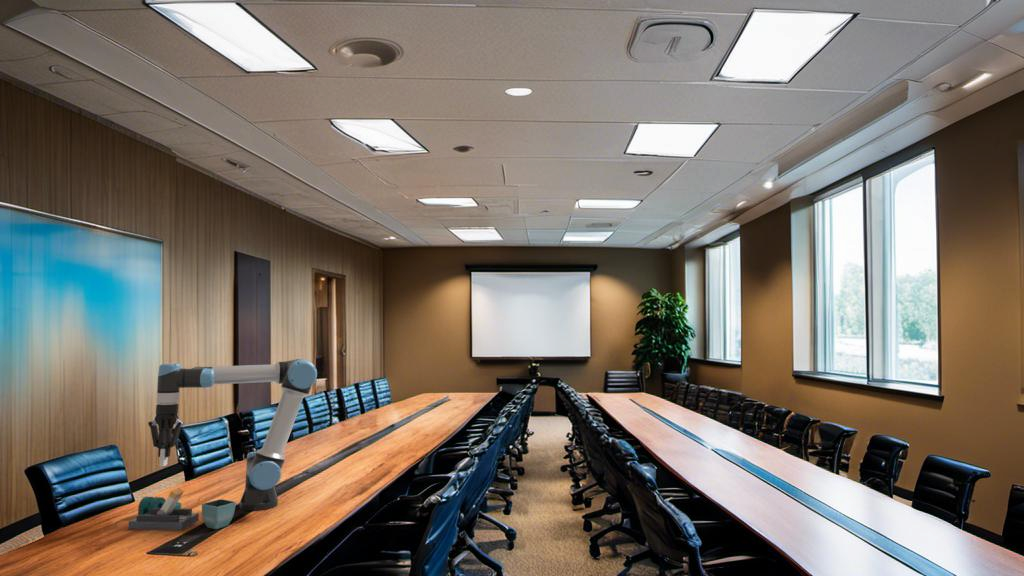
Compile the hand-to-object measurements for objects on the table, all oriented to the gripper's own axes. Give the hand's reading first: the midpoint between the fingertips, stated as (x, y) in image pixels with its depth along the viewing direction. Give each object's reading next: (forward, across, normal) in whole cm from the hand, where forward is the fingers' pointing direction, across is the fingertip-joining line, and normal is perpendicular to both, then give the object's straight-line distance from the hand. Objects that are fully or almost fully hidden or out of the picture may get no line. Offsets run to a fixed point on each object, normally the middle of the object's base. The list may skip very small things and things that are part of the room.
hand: (163, 465), depth 233 cm
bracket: (+23, +8, -16) cm, 29 cm away
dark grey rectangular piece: (+19, -2, 0) cm, 19 cm away
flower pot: (+23, -23, +1) cm, 32 cm away
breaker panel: (+22, -2, 0) cm, 22 cm away
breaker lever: (+19, -1, 0) cm, 19 cm away
